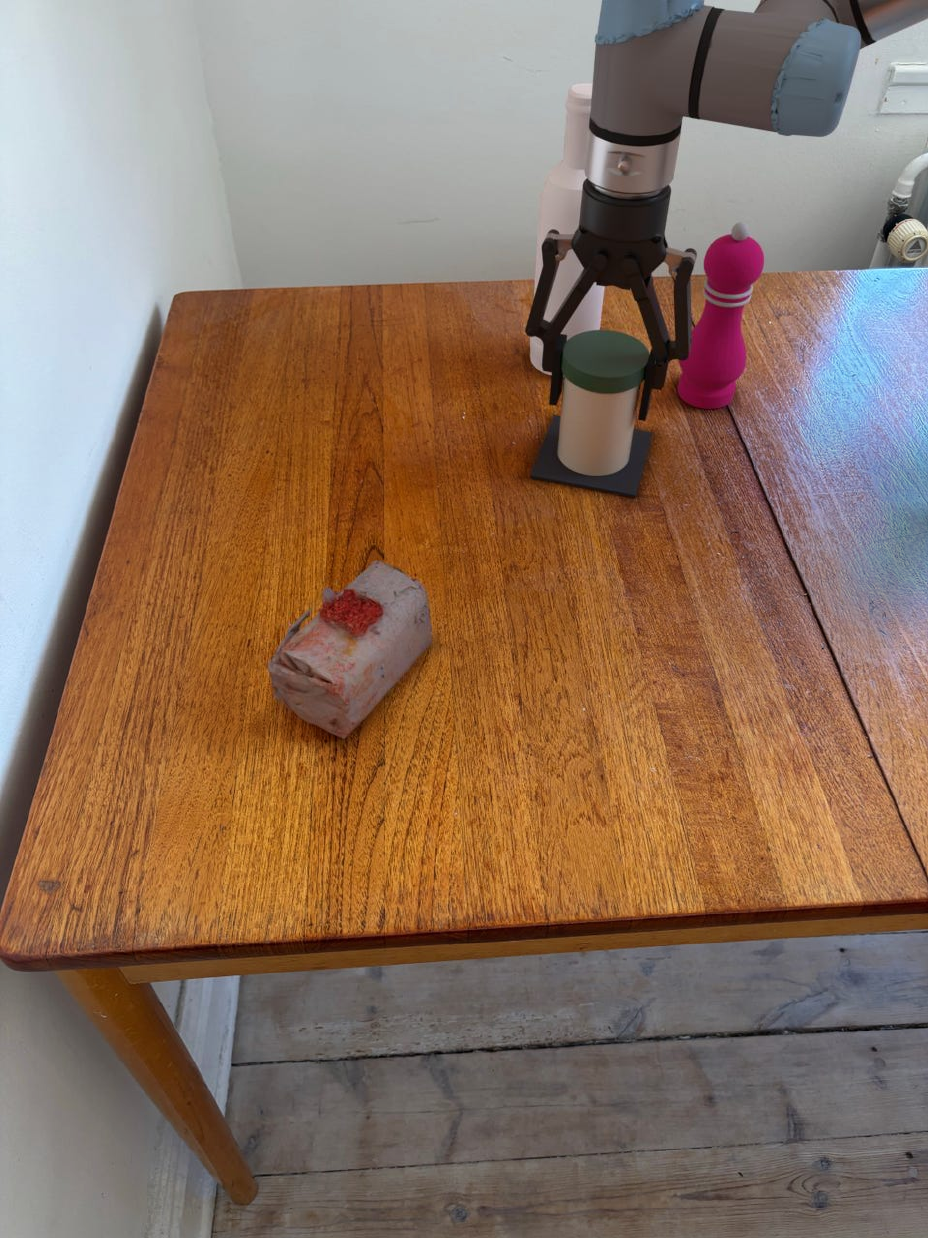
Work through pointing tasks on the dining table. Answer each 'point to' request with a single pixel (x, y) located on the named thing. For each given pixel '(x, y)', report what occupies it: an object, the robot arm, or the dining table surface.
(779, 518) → the dining table surface
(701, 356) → the pepper mill
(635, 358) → the jar lid
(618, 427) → the jar
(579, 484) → the mat
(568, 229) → the bottle
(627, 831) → the dining table surface
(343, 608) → the food item
